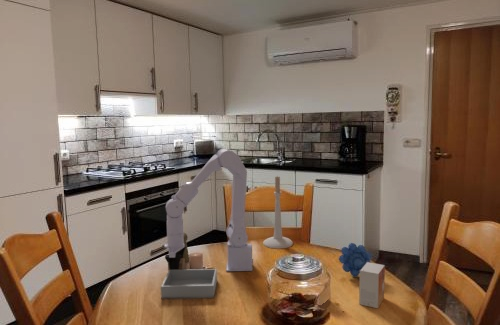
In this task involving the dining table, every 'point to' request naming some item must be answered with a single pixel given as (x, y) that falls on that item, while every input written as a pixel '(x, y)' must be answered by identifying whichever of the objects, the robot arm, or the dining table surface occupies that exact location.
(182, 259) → the walnut cube
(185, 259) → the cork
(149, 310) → the dining table surface
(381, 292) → the small box
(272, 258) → the dining table surface
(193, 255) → the terracotta cylinder
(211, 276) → the tote
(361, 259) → the blue flower
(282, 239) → the candlestick
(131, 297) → the dining table surface
